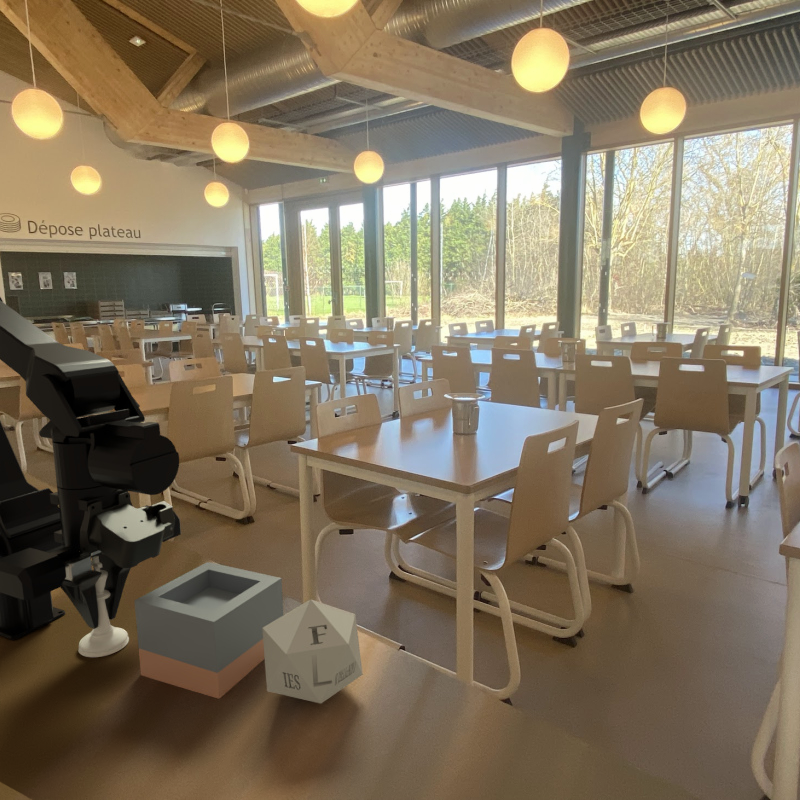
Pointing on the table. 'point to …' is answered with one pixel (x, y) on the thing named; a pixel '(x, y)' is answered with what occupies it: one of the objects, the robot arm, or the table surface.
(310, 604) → the die
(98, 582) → the chess piece
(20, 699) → the table surface
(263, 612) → the grey planter box
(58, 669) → the table surface
